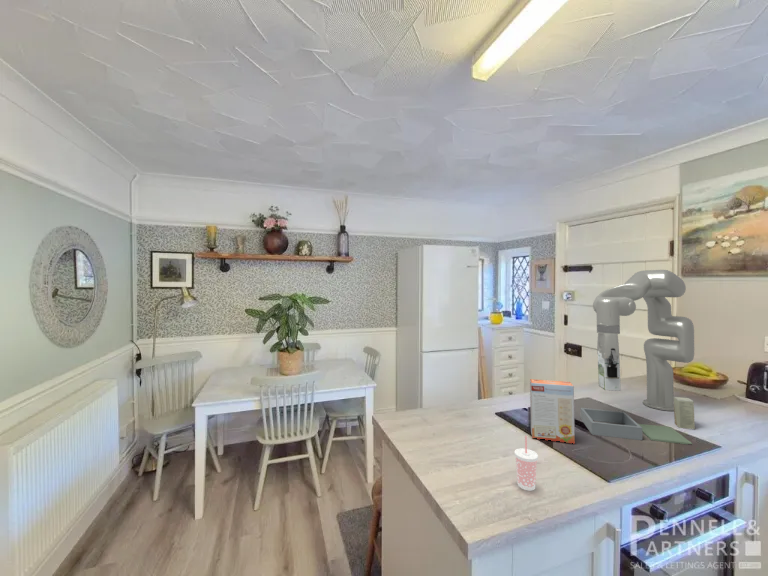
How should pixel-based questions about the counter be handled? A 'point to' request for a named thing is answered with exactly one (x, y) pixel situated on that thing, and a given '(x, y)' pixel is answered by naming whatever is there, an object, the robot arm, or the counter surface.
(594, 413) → the parts bin
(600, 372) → the syrup box
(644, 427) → the mat
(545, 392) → the cracker box
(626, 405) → the counter surface
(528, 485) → the beverage cup
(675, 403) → the box
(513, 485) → the counter surface
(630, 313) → the robot arm
